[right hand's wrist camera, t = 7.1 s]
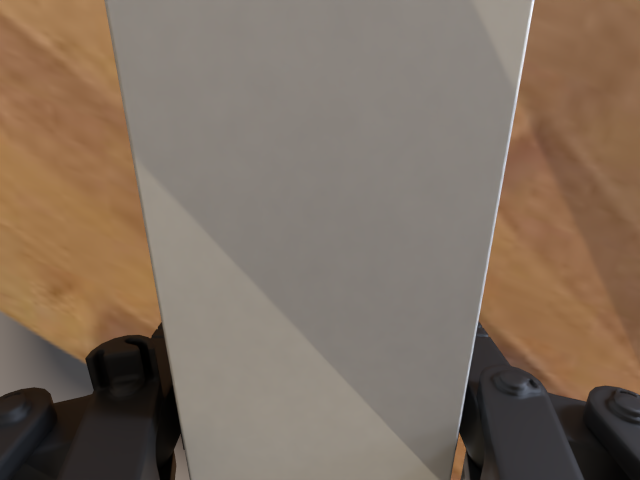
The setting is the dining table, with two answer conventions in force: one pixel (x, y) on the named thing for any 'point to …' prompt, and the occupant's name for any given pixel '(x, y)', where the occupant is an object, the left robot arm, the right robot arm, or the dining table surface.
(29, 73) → the dining table surface
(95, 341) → the dining table surface
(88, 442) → the right robot arm
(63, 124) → the dining table surface
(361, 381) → the post
